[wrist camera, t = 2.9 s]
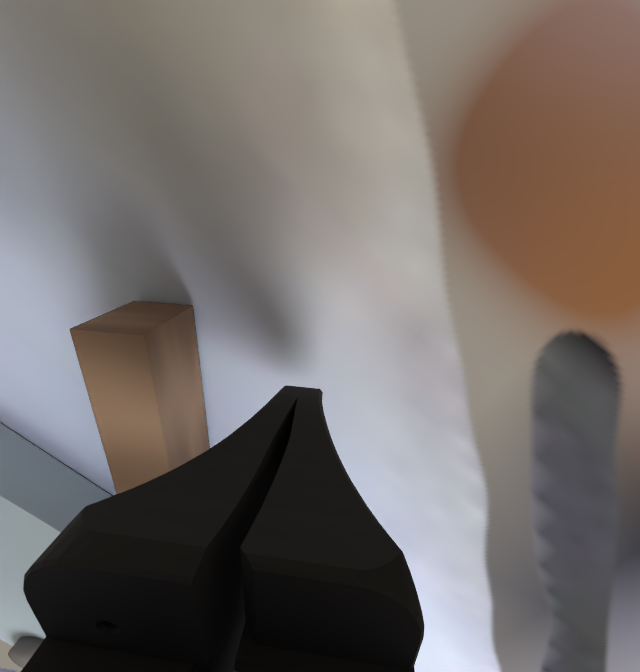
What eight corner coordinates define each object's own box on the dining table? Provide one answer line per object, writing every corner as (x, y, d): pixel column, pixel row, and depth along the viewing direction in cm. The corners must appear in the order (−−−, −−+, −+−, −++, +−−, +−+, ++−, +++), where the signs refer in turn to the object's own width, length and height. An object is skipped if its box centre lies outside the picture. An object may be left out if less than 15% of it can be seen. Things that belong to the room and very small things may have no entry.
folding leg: (221, 546, 18) (195, 610, 15) (180, 540, 18) (148, 602, 15) (192, 305, 12) (144, 335, 9) (133, 301, 12) (69, 329, 10)
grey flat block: (181, 541, 18) (148, 603, 15) (83, 620, 23) (44, 678, 20) (-12, 415, 16) (-92, 461, 13) (-75, 533, 21) (-143, 585, 18)
